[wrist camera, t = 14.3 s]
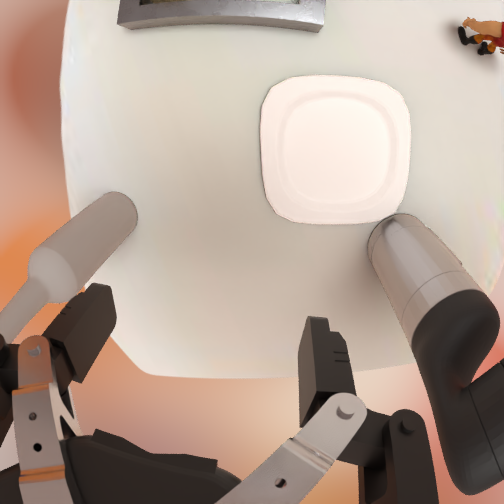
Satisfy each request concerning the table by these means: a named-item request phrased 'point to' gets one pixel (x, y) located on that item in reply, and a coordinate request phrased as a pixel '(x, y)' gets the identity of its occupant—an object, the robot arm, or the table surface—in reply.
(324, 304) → the table surface
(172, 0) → the brass peg
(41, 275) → the bottle
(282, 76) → the table surface
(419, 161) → the table surface
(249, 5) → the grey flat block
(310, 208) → the plate
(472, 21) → the action figure
